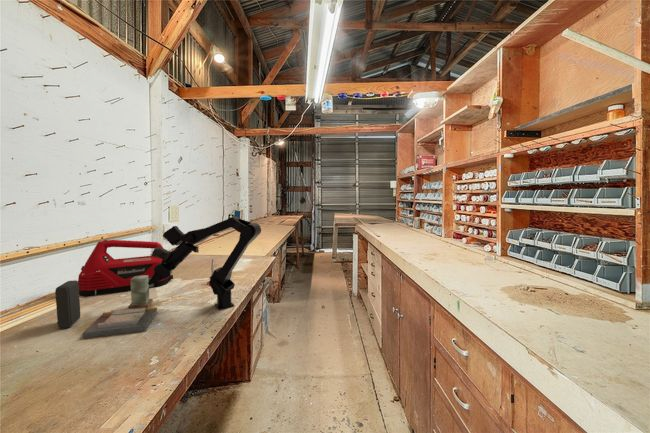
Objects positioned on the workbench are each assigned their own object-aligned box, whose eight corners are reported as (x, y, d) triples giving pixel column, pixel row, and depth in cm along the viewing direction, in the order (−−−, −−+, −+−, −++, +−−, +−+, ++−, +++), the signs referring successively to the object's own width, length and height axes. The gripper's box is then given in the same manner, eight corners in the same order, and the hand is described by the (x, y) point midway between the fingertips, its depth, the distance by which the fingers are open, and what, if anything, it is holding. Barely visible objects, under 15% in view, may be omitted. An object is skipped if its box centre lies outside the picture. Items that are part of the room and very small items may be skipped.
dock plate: (157, 312, 114) (157, 304, 114) (145, 331, 99) (145, 321, 98) (103, 318, 108) (103, 309, 108) (82, 338, 93) (81, 328, 93)
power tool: (174, 285, 149) (172, 237, 147) (73, 299, 128) (70, 244, 126) (171, 277, 162) (170, 233, 160) (80, 289, 141) (77, 239, 139)
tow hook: (230, 283, 153) (217, 280, 157) (230, 260, 151) (217, 257, 155) (218, 288, 145) (205, 285, 149) (218, 263, 144) (205, 260, 148)
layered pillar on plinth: (152, 304, 123) (151, 274, 122) (148, 310, 116) (146, 279, 115) (134, 305, 121) (132, 275, 120) (128, 312, 114) (126, 280, 113)
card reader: (68, 319, 108) (66, 280, 106) (82, 317, 109) (79, 279, 108) (56, 330, 99) (53, 287, 98) (70, 328, 100) (67, 286, 99)
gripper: (169, 237, 128) (142, 262, 126) (159, 244, 110) (127, 274, 108) (189, 253, 131) (163, 279, 129) (182, 263, 113) (151, 292, 111)
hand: (151, 280), depth 119 cm, fingers open, 9 cm apart
